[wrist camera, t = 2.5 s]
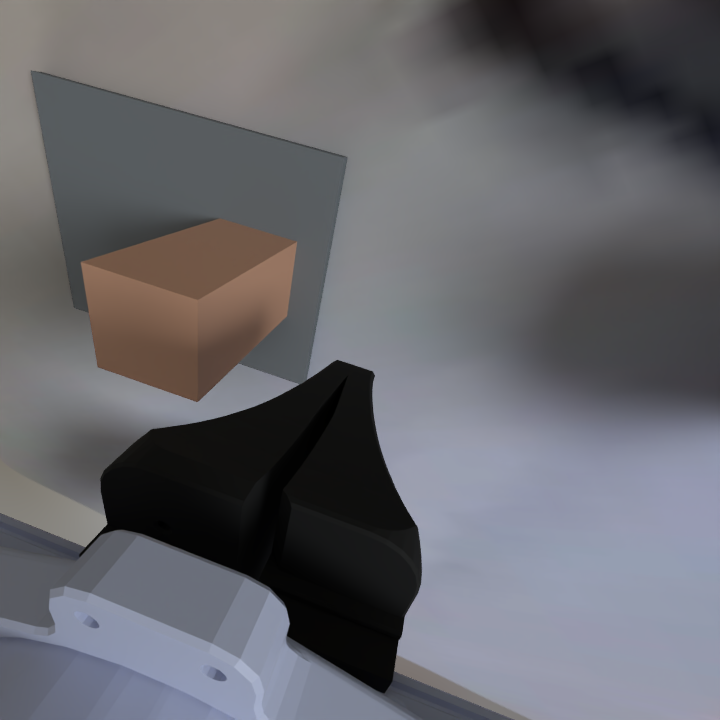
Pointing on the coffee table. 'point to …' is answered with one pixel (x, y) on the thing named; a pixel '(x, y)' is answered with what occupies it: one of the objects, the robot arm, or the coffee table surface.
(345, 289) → the coffee table surface
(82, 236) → the mat
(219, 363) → the tall block
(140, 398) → the coffee table surface
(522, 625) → the coffee table surface
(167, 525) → the robot arm
